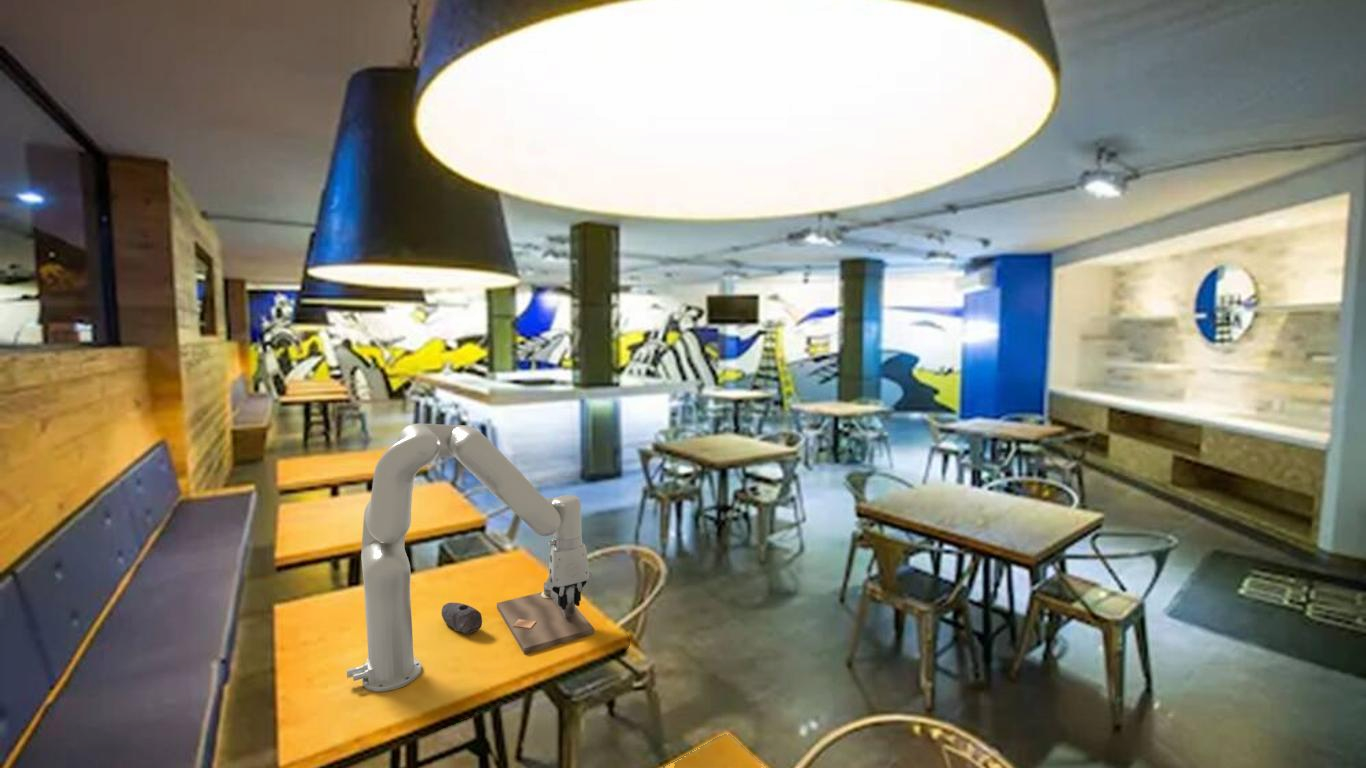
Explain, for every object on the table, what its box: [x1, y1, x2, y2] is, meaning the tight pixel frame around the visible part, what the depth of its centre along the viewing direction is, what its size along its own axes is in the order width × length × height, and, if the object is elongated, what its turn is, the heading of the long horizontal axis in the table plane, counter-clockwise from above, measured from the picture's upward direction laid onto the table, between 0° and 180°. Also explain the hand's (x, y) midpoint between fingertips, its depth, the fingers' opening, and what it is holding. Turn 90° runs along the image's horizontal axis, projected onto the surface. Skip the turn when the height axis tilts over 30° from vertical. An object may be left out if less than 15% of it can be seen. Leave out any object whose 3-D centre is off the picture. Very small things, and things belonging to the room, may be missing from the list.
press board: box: [496, 590, 595, 655], centre depth 167 cm, size 19×28×2 cm
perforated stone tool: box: [441, 602, 483, 635], centre depth 162 cm, size 15×5×7 cm, turn 54°
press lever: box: [543, 582, 577, 618], centre depth 171 cm, size 4×22×11 cm, turn 28°
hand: (569, 605), depth 163 cm, fingers closed on press lever, 3 cm apart
